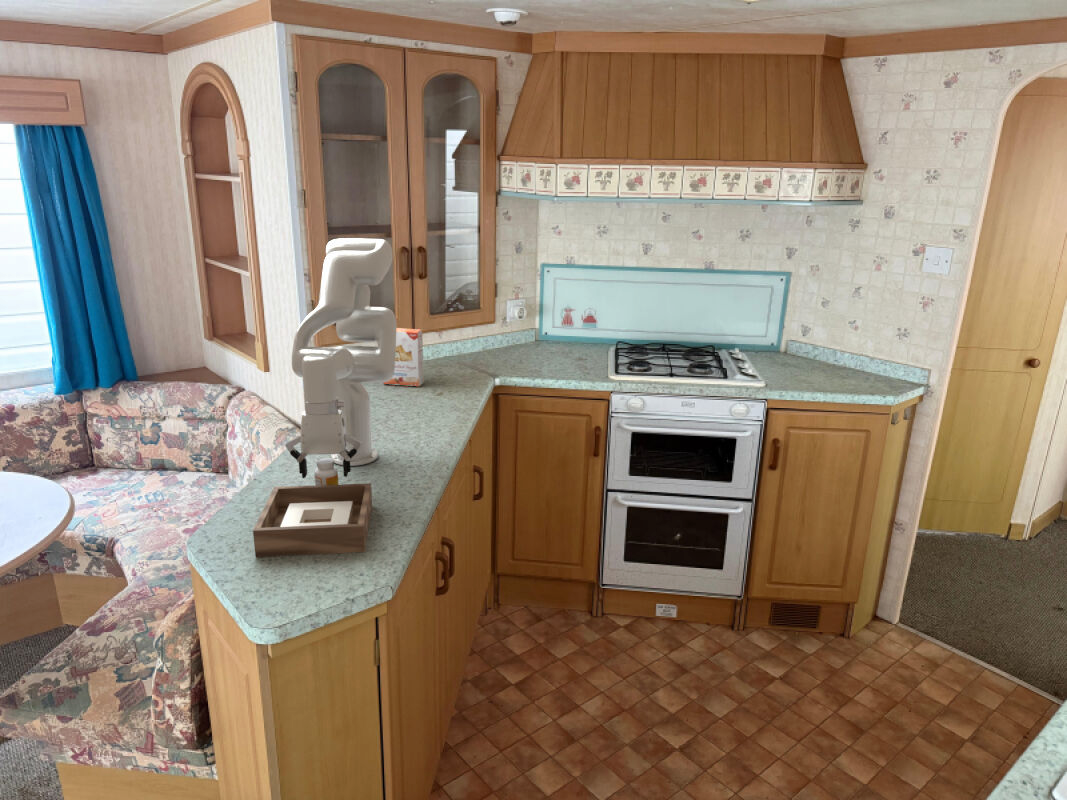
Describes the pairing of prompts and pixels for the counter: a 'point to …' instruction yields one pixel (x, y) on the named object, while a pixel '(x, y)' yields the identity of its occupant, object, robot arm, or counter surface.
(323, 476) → the supplement bottle
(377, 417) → the counter surface
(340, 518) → the socket plate
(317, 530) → the open box
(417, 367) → the cracker box
